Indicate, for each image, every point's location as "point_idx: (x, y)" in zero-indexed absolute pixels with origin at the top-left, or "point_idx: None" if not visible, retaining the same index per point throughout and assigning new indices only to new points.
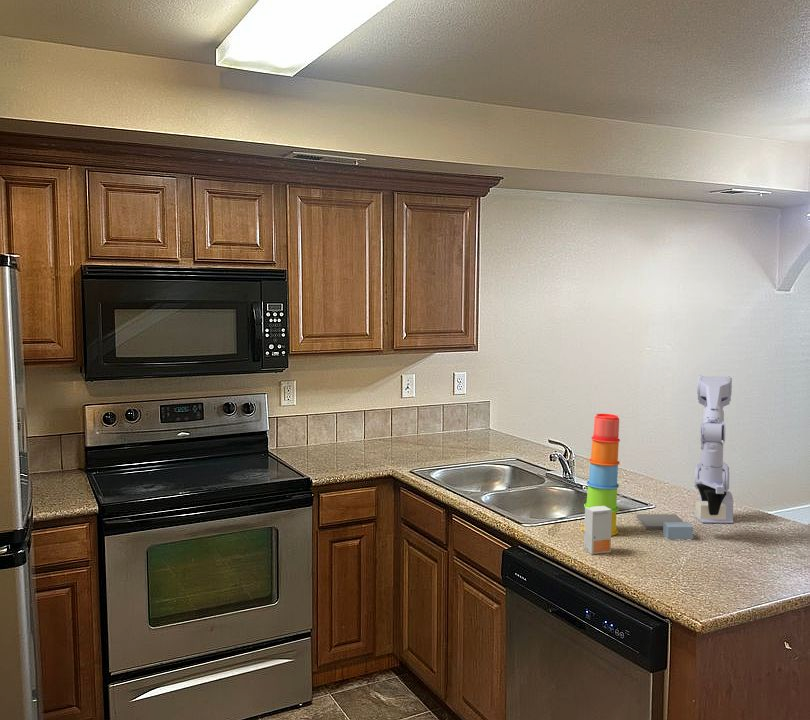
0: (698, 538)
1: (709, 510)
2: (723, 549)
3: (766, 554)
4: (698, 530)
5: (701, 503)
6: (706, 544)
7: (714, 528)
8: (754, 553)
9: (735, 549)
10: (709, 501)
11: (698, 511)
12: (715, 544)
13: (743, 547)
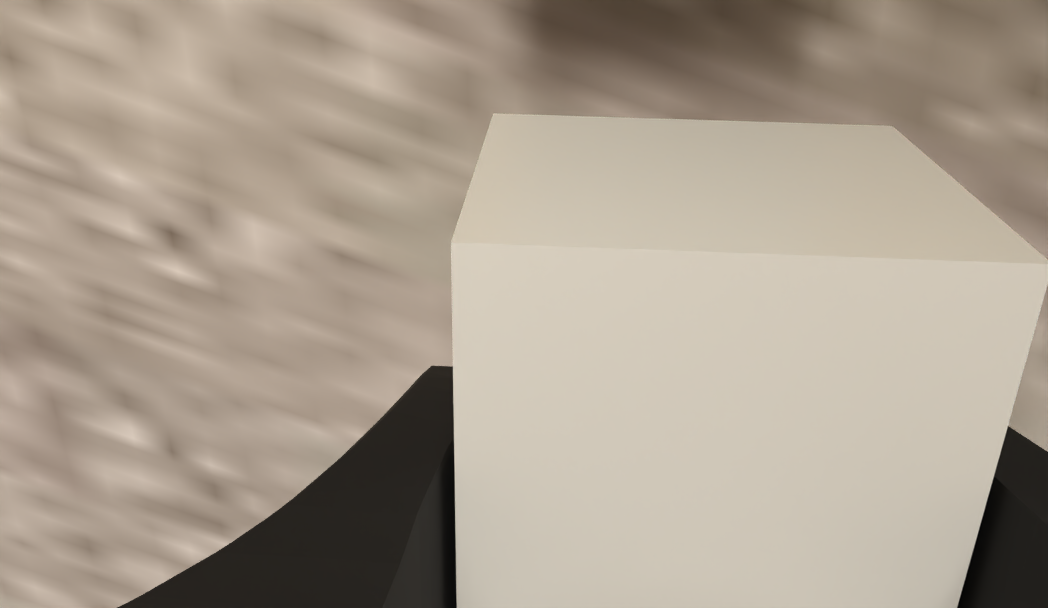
0: (604, 30)
1: (407, 401)
2: (117, 218)
3: (32, 605)
4: (1001, 175)
5: (711, 349)
6: (311, 54)
7: (1037, 429)
8: (37, 510)
9: (145, 365)
10: (204, 561)
11: (672, 162)
12: (324, 188)
13: (239, 479)
